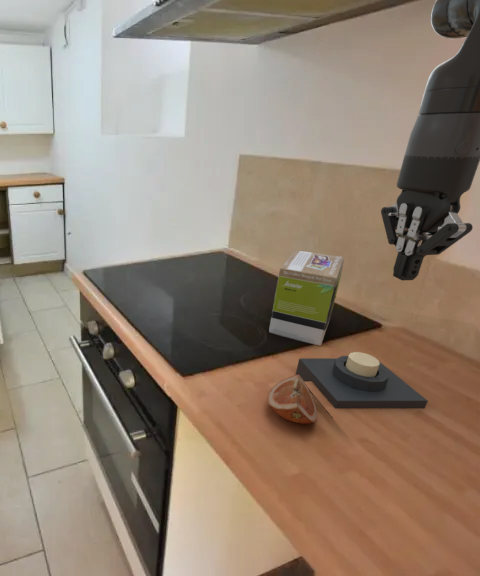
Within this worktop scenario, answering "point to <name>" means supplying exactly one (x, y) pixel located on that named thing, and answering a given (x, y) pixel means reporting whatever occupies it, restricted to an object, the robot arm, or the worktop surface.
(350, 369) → the button
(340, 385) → the dark grey button base
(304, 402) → the fruit slice
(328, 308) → the tea box
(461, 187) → the robot arm
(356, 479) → the worktop surface
